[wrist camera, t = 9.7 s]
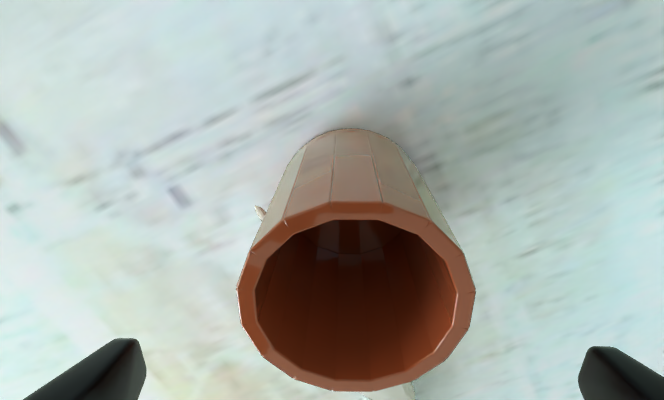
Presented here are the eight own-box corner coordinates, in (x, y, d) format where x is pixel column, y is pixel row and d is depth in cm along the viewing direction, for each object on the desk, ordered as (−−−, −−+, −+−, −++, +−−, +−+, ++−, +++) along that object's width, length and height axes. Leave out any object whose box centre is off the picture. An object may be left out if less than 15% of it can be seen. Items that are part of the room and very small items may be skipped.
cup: (413, 255, 16) (458, 394, 10) (285, 254, 17) (249, 390, 10) (425, 127, 14) (492, 202, 8) (277, 128, 14) (223, 200, 8)
